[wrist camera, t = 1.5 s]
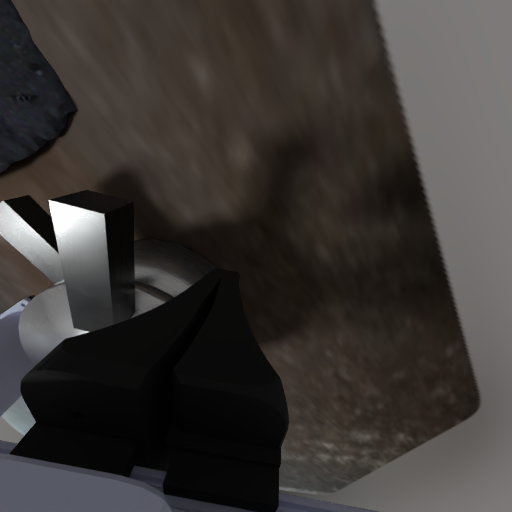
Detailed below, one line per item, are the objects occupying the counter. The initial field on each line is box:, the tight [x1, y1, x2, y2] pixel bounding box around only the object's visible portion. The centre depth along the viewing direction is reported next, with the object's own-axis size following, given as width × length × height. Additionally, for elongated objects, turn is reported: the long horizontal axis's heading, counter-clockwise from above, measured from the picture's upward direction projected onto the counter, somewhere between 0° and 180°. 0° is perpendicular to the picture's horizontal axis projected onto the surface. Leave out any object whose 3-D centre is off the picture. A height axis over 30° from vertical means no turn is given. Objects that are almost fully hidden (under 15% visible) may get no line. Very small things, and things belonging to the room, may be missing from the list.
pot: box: [0, 195, 217, 297], centre depth 20 cm, size 20×14×6 cm
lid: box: [19, 190, 174, 367], centre depth 15 cm, size 20×15×3 cm
